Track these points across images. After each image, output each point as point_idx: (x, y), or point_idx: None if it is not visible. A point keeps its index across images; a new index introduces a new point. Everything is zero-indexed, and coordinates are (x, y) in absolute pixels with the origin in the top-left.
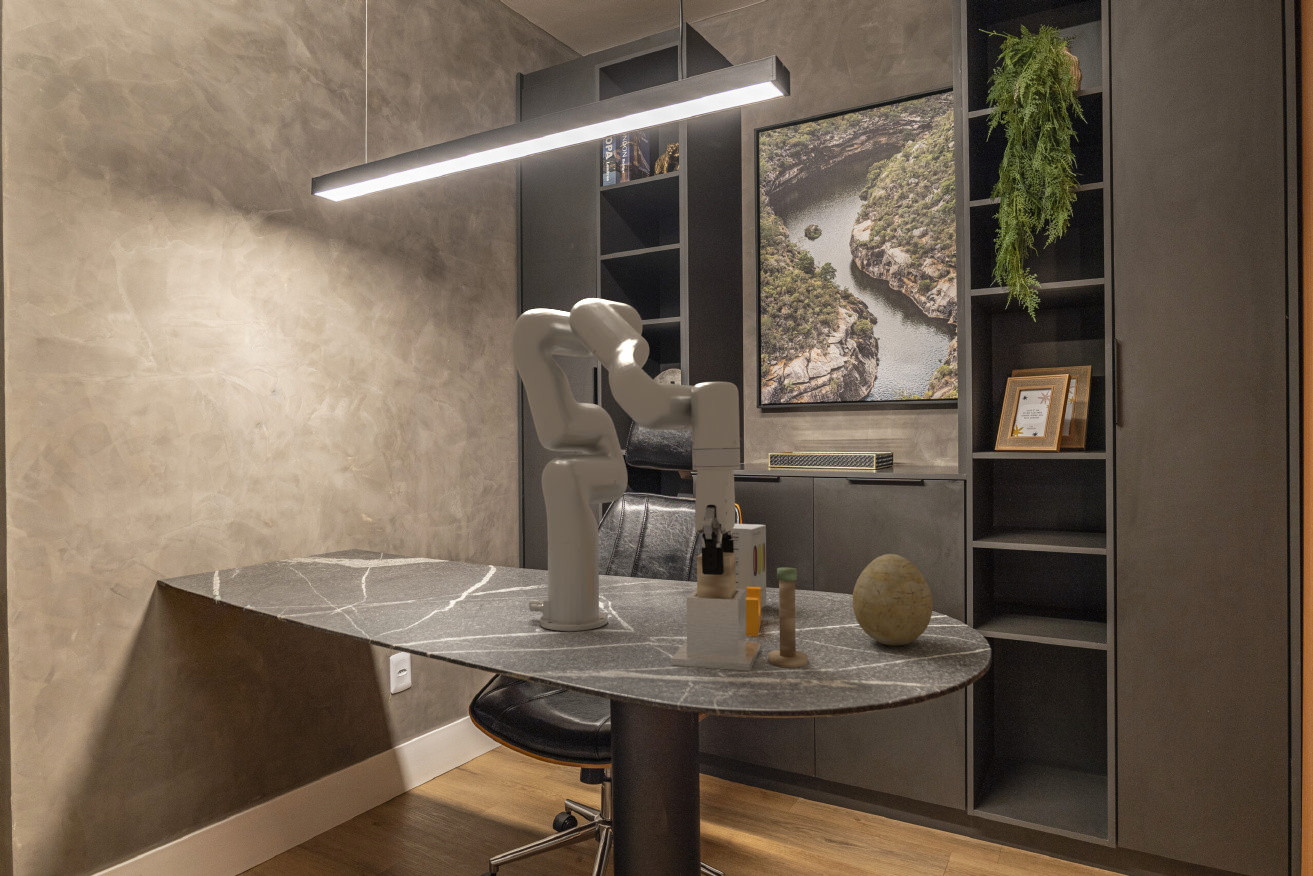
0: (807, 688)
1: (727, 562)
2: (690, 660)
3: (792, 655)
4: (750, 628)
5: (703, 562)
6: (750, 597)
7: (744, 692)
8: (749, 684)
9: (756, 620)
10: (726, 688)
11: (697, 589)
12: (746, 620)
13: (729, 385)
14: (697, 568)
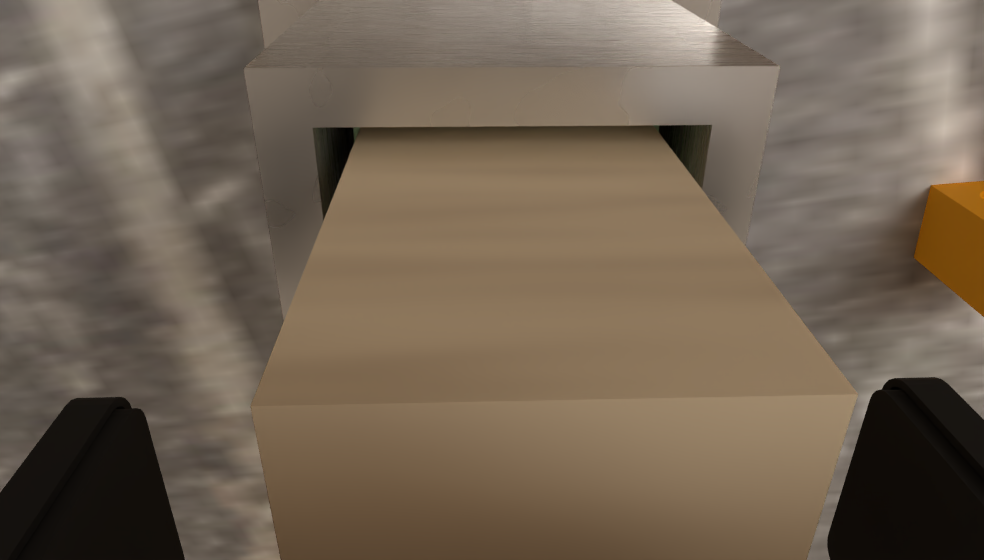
0: (185, 498)
1: None
2: (262, 26)
3: None
4: (945, 240)
5: (5, 513)
6: None
7: (23, 321)
8: (131, 325)
9: (964, 293)
10: (32, 250)
11: (338, 185)
12: (977, 240)
13: None
14: (293, 303)
